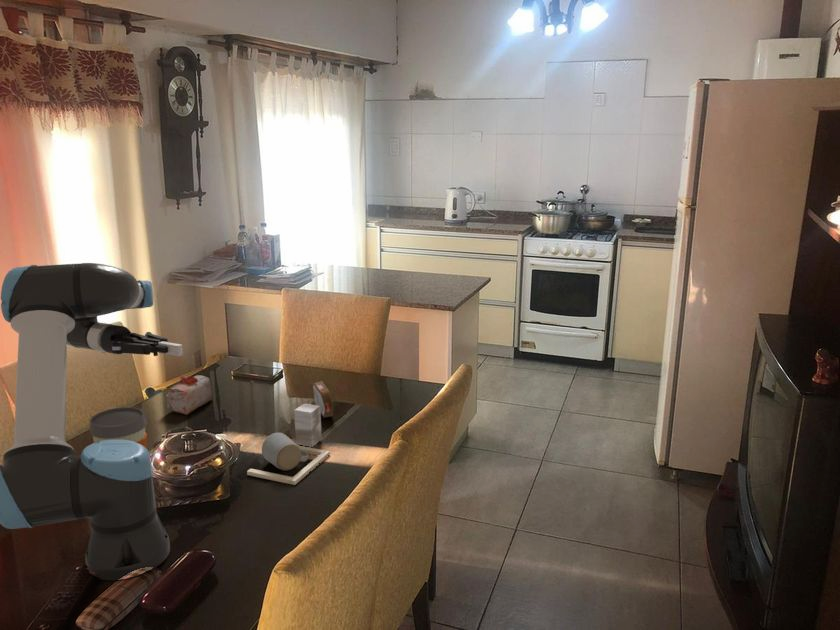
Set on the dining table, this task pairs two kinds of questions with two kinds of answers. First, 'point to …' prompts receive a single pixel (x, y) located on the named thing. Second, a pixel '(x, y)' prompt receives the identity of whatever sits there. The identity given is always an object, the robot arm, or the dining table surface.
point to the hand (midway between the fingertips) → (180, 350)
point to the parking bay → (299, 475)
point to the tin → (323, 399)
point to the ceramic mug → (282, 452)
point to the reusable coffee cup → (119, 425)
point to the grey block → (308, 425)
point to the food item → (189, 394)
